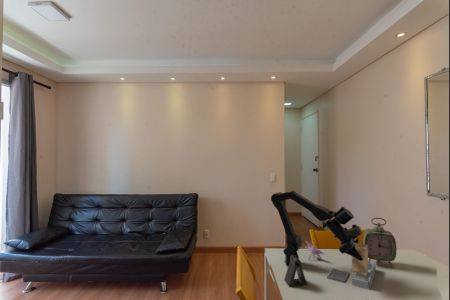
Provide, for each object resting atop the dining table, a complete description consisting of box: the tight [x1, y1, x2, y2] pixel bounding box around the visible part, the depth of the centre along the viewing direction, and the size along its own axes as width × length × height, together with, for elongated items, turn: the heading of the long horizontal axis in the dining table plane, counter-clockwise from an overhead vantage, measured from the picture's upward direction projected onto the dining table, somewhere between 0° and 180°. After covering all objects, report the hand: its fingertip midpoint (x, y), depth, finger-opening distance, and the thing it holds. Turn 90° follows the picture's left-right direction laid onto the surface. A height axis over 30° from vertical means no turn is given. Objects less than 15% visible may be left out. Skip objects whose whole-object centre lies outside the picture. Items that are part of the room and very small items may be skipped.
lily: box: [304, 240, 325, 260], centre depth 149 cm, size 12×12×10 cm
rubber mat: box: [326, 268, 350, 283], centre depth 129 cm, size 8×11×1 cm
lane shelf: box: [351, 261, 377, 290], centre depth 127 cm, size 7×22×4 cm, turn 145°
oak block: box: [351, 242, 369, 275], centre depth 123 cm, size 6×6×12 cm
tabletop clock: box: [362, 217, 397, 268], centre depth 142 cm, size 14×9×25 cm, turn 68°
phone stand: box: [284, 255, 309, 288], centre depth 123 cm, size 9×6×12 cm, turn 97°
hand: (363, 257), depth 123 cm, fingers closed on oak block, 6 cm apart
